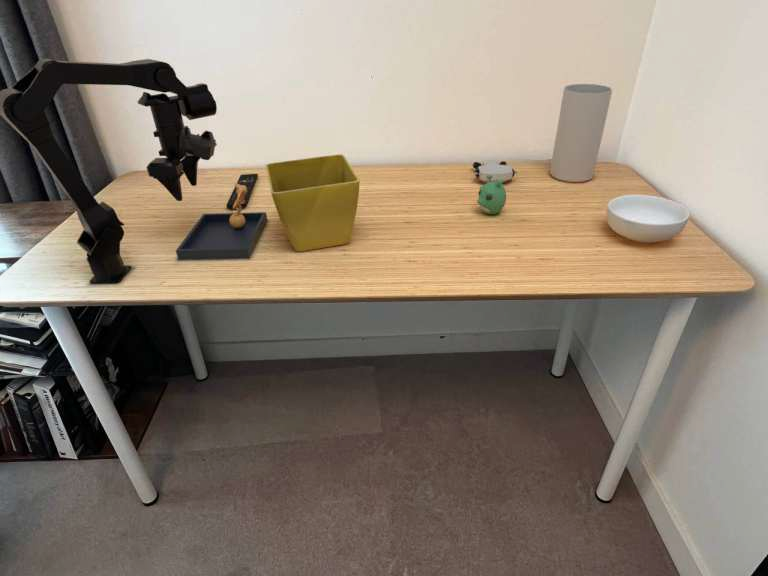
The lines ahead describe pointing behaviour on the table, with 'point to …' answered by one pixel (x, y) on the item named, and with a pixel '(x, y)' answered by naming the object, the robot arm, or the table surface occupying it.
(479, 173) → the robot toy
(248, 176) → the remote control
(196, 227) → the tray
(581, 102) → the cylinder vase
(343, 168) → the flower pot
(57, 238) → the table surface
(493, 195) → the alien toy
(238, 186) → the figurine
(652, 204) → the cereal bowl
